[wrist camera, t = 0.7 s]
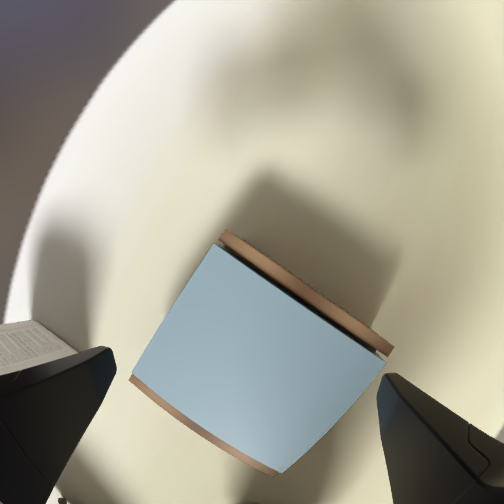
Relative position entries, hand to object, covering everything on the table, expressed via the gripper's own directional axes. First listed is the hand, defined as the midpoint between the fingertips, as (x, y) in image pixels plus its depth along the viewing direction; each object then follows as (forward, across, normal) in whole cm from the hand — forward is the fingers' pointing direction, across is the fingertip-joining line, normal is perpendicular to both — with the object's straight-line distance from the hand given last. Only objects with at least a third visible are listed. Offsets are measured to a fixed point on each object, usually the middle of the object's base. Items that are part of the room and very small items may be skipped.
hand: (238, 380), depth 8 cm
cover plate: (+8, 0, +5) cm, 10 cm away
